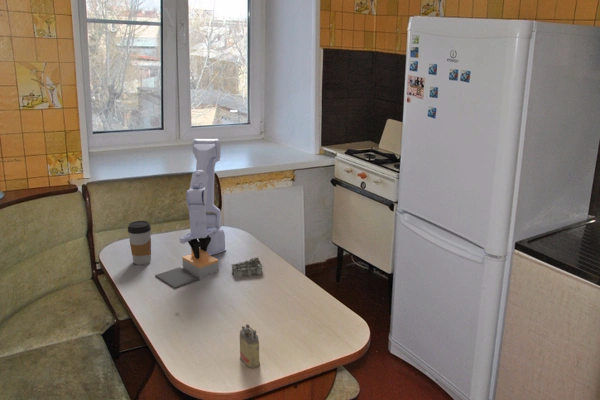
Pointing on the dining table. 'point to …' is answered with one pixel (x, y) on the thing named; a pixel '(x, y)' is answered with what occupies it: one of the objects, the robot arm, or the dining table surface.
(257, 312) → the dining table surface
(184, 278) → the mat
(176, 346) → the dining table surface
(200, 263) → the lid
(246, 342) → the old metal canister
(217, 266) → the parts tub
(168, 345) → the dining table surface
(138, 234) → the coffee cup
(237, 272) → the grey rock
